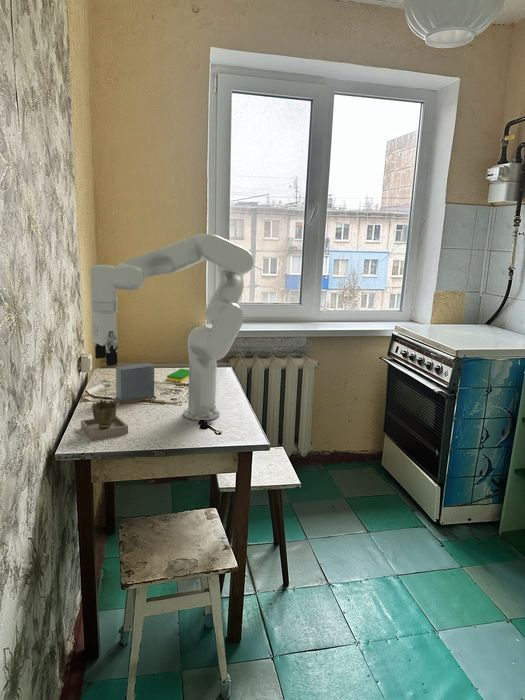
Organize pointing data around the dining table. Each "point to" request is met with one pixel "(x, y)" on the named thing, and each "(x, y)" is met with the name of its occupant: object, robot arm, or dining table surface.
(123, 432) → the tray
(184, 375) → the dish sponge
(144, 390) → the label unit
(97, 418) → the cup
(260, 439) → the dining table surface
